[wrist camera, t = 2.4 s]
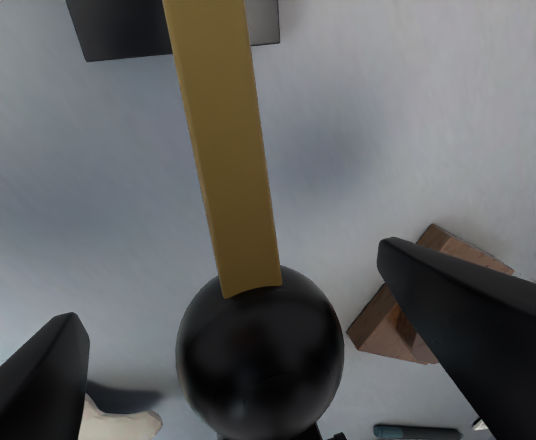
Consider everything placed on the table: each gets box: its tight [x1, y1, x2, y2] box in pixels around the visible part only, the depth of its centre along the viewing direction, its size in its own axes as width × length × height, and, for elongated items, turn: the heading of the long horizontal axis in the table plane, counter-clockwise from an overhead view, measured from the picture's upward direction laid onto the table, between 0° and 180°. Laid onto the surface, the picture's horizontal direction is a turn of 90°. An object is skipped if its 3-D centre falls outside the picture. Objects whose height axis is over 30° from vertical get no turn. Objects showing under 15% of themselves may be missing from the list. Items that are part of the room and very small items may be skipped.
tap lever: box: [162, 0, 344, 440], centre depth 5 cm, size 13×3×3 cm, turn 5°
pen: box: [373, 426, 464, 440], centre depth 35 cm, size 1×16×1 cm, turn 60°
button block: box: [347, 224, 514, 365], centre depth 22 cm, size 10×8×4 cm
